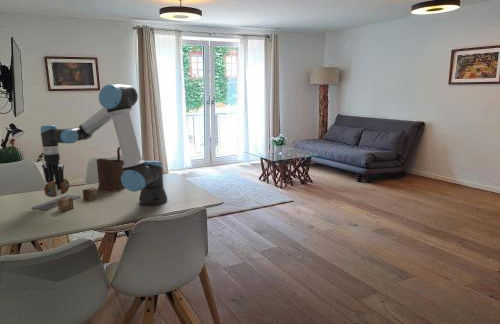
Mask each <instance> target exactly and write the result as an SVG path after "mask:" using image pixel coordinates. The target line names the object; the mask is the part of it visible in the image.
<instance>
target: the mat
mask: <svg viewBox="0 0 500 324" xmlns="http://www.w3.org/2000/svg"><path fill="white" fill-rule="evenodd" d="M61 197H65V198H71V197H72V198H73V201H74V200H77V199H80V198H81V197H82V196H80V195H74V194H73V195H72V194H64V195H63V196H60V197H57V198H55V199H52V200H49V201H46V202H42V203H40V204H37V205H34V206H32V207H31V209H35V210H41V211H42V210H44V211H47V210H51V209H53V208H56V207H58V205H57V199H59V198H61Z"/></svg>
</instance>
